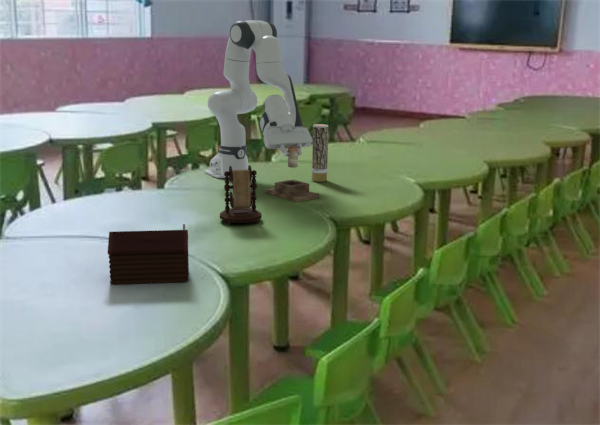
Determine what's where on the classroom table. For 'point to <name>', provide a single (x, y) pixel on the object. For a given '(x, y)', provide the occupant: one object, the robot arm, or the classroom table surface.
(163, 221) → the classroom table surface
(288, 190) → the socket board
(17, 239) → the classroom table surface
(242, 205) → the scroll
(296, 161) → the peg
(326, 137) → the paper tube
